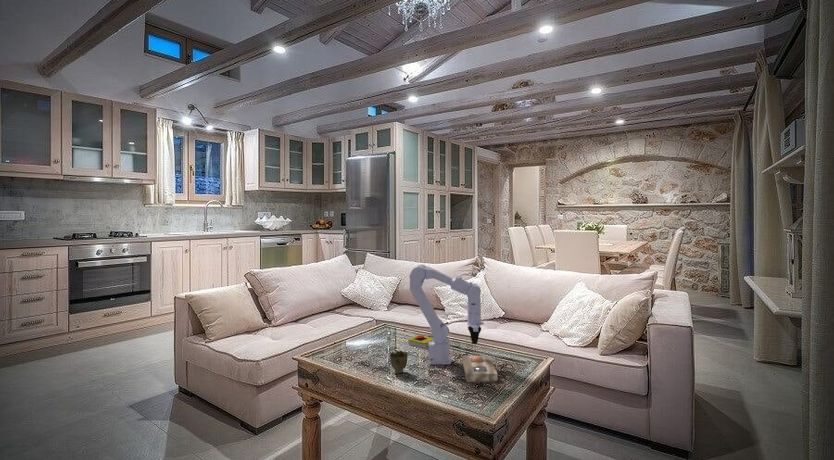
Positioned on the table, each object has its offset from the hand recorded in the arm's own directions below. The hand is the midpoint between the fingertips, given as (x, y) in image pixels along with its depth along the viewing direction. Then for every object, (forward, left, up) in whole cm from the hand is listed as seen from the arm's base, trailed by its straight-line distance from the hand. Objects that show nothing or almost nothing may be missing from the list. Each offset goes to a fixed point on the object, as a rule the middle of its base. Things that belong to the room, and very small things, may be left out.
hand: (474, 343), depth 174 cm
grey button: (+1, -14, -8) cm, 17 cm away
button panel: (+1, -9, -9) cm, 13 cm away
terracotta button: (+1, -4, -8) cm, 9 cm away
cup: (-32, -9, -9) cm, 35 cm away
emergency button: (-23, +27, -10) cm, 37 cm away
